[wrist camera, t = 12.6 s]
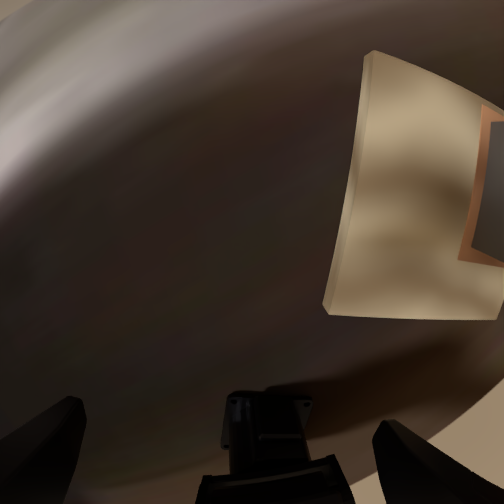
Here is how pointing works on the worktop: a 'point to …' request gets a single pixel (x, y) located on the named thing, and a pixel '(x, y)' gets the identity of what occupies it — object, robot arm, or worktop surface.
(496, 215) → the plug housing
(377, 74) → the birch board
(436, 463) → the robot arm
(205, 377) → the worktop surface
